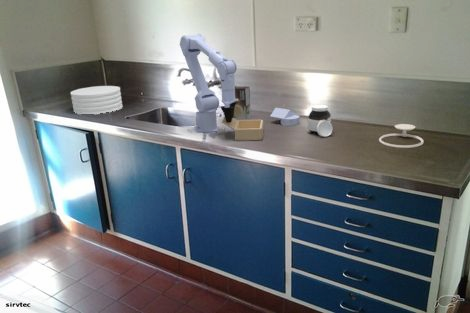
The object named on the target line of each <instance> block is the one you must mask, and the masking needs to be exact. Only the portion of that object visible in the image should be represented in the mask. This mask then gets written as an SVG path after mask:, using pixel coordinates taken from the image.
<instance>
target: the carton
mask: <svg viewBox="0 0 470 313" xmlns="http://www.w3.org/2000/svg"><path fill="white" fill-rule="evenodd" d="M263 136H264V120H263V119H248V120H237V123H236V125H235V128H234V140H236V141H261V140H263Z"/></svg>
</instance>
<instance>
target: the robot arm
mask: <svg viewBox="0 0 470 313" xmlns="http://www.w3.org/2000/svg"><path fill="white" fill-rule="evenodd" d="M179 47H180V49H181V52H182V54H183V56H184V59H185V61H186V62H185V63H186V64H187V67H188V70H189V73H190V75H191V78H192V81H193V84H194V85H195V89H196V92H197V93H196V95H195V97H194V100H195V107H196V109H197V111H196V112H195V127H196V132H197V133H206V132H207V133H209V132H210V133H211V132H215V133H217V132H218V130H219V128H220V126H219V125H218V122H217V111H218V108H219V107H220V99H219V98H218V96H217V95H216V92H215V91H214V90H212V89H210V88H209V86H208V83H207V80H206V78H205V75H204V72H203V70H202V67H201V65H200V62H199V58H198V56H199V55H200V54H201V52H202V53H203V55H205V56H207V57H208V61H209V62H210V63H211V64H212V65H213V66H214V67H215V68H216V70H217V73H218V75H219V76H218V77H219V80H220V87H221V89H220V90H221V103H222V104H223V105H224V106H221V107H220V108H221V111H222V112H223V115H224V116H223V117H225V119H226V122H227V123H231V121H232V118H233V117H234V109H235V105H236V103H237V102H236V101H238V99H235V86H236V85H235V73H236V72H237V68H238V67H237V64H236V62H235V61H234V60H233V59H228V58H227V57H225V56H224V54H222V53H221V51H220V50H214V49H213V48H212V46H210V45H209V43H208V42H206V39H205V37H204V35H202V34H201V33H198V34H192V35H191V34H189V35H182V36H181V38H180V40H179Z"/></svg>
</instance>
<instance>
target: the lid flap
mask: <svg viewBox="0 0 470 313" xmlns="http://www.w3.org/2000/svg"><path fill="white" fill-rule="evenodd" d="M237 122H238V120H236V119H234V118H232V121H231V123H227V122H226V119H225V116H223V118H222V121H221V124H223V125H225V126H227V127H228V128H230V129H232V130H234V131H235V127H236V125H237Z"/></svg>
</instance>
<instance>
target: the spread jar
mask: <svg viewBox="0 0 470 313" xmlns="http://www.w3.org/2000/svg"><path fill="white" fill-rule="evenodd" d="M307 128H308V131H309V132H310V133H311V134H313V135H319V136H320V137H324V138H325V137H329V136H330V135H331V134H332V133H333V125H332V115H331V112H330V111H329V107H328V105H325V104H314V105H312V106H311V111H310V112H309V114H308V118H307Z"/></svg>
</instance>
